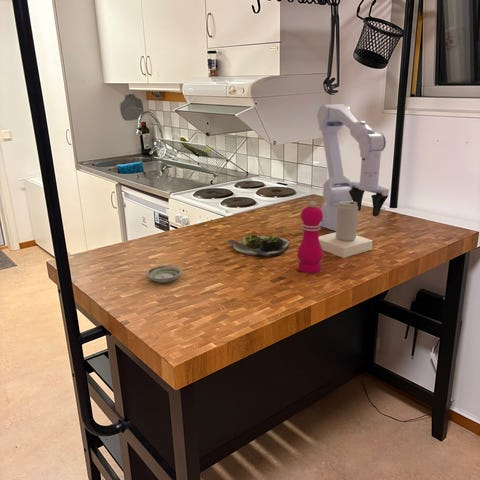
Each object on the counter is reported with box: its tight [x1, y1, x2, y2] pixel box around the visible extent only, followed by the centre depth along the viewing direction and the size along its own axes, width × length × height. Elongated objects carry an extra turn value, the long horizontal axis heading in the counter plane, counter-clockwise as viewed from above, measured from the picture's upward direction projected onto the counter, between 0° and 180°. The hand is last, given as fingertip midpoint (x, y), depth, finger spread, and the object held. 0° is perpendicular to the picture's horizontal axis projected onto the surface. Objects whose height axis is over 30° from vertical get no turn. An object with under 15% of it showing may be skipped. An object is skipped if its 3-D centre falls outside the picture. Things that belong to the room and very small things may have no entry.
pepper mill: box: [296, 200, 324, 274], centre depth 132 cm, size 7×7×20 cm
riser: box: [318, 231, 373, 259], centre depth 152 cm, size 13×13×3 cm
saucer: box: [145, 265, 183, 284], centre depth 129 cm, size 10×10×2 cm
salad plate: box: [227, 234, 291, 258], centre depth 153 cm, size 19×18×5 cm
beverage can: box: [335, 200, 359, 241], centre depth 150 cm, size 6×6×12 cm
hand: (366, 213), depth 155 cm, fingers open, 7 cm apart
